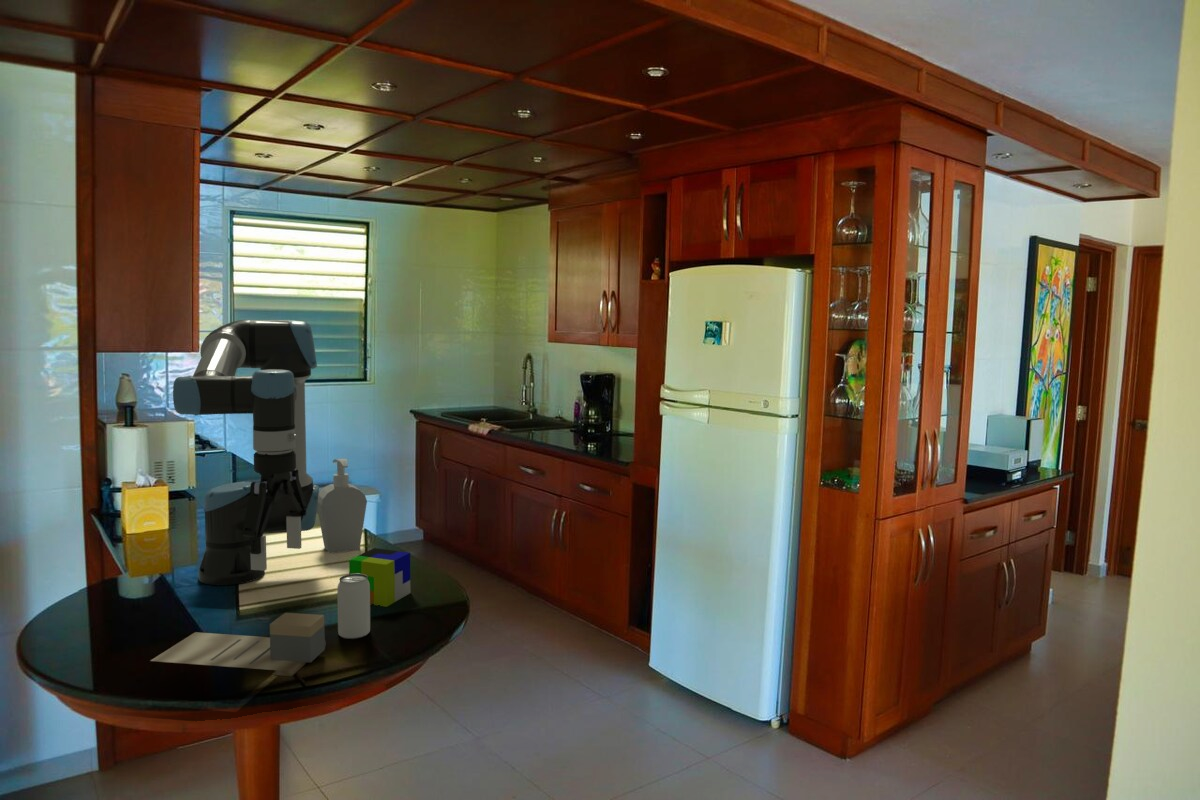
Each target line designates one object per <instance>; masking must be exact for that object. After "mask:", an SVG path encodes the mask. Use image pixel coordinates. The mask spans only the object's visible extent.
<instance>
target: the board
mask: <svg viewBox="0 0 1200 800" xmlns="http://www.w3.org/2000/svg"><path fill="white" fill-rule="evenodd" d="M326 645H327V644H326V640H325V647H327V646H326ZM149 662H156V663H157V662H158V663H169V664H171V663H173V664H186V665H199V666H211V667H212V666H215V667H224V668H225V667H227V668H241V669H242V668H243V669H253V670H255V669H256V670H266V671H267V670H268V671H273V672H272V673H271V674H270V675H271V676H280V677H281V676H282V677H283V676H284V677H293V676H294V675H295V674H296V673H297V672H298V671H299V670H301V668H303V667H304V666H305V665H306V664H307V663H308V662H297V661H283V660H271V657H270V636H257V635H256V636H255V635H241V634H230V633H229V634H227V633H226V634H225V633H224V634H223V633H214V632H213V633H212V632H197V631H195V632H193V633H191V634H190V635H189V636H187V637H184V638H183V639H182V640H181V641H179V642H177V643H176V644H174V645H172V646H171V647H170V648H168V649H167V650H165V651H164V652H161V653H160V654H158V655H157V656H155V657H154V658H151V659H150V660H149Z"/></svg>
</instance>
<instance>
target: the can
mask: <svg viewBox="0 0 1200 800" xmlns="http://www.w3.org/2000/svg"><path fill="white" fill-rule="evenodd" d="M367 578H368V577H367V576H366V575H364V574H349V573H348V574H345V575H341V576H340V577H339V582H338V584H337V594H336V595H337V632H338V633H337V634H338V636H340V638H341V639H347V640H355V639H356V640H357V639H360V638H361V639H362V638H364V637H366V636H367V635H368V634H369V633H370V631H371V604H370V584H369V581H368V580H367Z"/></svg>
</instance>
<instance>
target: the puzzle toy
mask: <svg viewBox="0 0 1200 800" xmlns="http://www.w3.org/2000/svg"><path fill="white" fill-rule="evenodd" d="M348 570H349V571H348V574H364V575H366V576H367V577H368V578H367V580H368V581H369V584H370V605H372V604H374V605H373V606H378V605H380V606H379V607H385V608H387V607H388V606H391V605H392V604H394V603H396V602H397V601H399V600H401V599H403V598H404V597H406V596H407V595H410V594H411V552H407V551H399V550H393V549H386V548H385V549H384V548H375V547H373V548H372V549H369V550H368V551H365V552H362V553H360V554H359V555H356V556H354V557H352V558H350V559H348Z"/></svg>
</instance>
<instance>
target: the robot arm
mask: <svg viewBox="0 0 1200 800" xmlns="http://www.w3.org/2000/svg"><path fill="white" fill-rule="evenodd" d="M315 348H316V347H315V342H314V336H313V331H312V327H311V325H310V324H309V323H308V322H306V321H304V320H303V321H301V320H292V319H253V320H252V319H240V320H236V321H235V320H234V321H232V322H229V323H226V324H223V325H221V326H220V327H218V328H217V327H216V329H214V330H212V331H211V332H210V333H208V335H206V336H205V338H204V339H203V341H202V343H201V346H200V351H199V352H200V356H201V357H200V359H199V362H198V364H197V366H196V369H195V370H194V373H193V375H186V376H185V375H184V376H178V377H176V378H175V379H174V381H173V386H172V401H173V407H174V410H175V412H176V414H179V415H191V416H192V415H193V416H204V415H207V416H208V415H210V416H211V415H236V414H237V415H247V414H248V415H249V414H250V415H252V418H253V419H252V434H253V435H252V441H253V442H252V445H253V446H252V447H253V448H252V449H253V450H254V451H255V453H254V454H253V470H254V472H255V473H258V474H259V475H260V480H259V482H257V481H256V482H255V481H249V480H248V481H237V482H231V483H230V482H229V483H225V484H221V485H219V486H214V487H213V488H210V489H209V490H208V491H207V492H205V496H204V507H203V512H204V529H205V530H204V531H205V534H204V535H205V536H204V537H205V550H204V552H203V556H202V559H201V561H200V562H201V563H200V565H199V569H198V581H199V582H200V583H202V584H205V585H209V586H232V585H240V584H243V583H244V584H245V583H249V582H252V581H255V580H258V579H260V578H262V577H263V576H264V575H265V573H266V572H265V571H267V569H268V568H267V567H268V566H267V565H268V564H267V536H266V535H265V534H267V535H268V534H279V533H280V534H281V533H286V549H294V550H295V549H297V550H301V549H302V532H305V531H306V532H307V531H310V530H312V529H313V528H314V527H315V524H316V521H317V520H316V519H317V513H318V509H317V504H318V495H319V492H320V485H317V484H314V479H313V477H312V476H311V475H310V474H308V473H307V441H306V440H307V439H306V436H307V435H306V434H307V432H306V385H305V382H306V381H307V379H309V378H310V377H311V376H312V370H313V369H316V368H317V367H318V364H317V362H318V361H317V357H316V349H315ZM240 368H241V369H259V370H256V371H253V372H252V375H243V376H242V375H239V376H238V375H236V373H237V369H240Z"/></svg>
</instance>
